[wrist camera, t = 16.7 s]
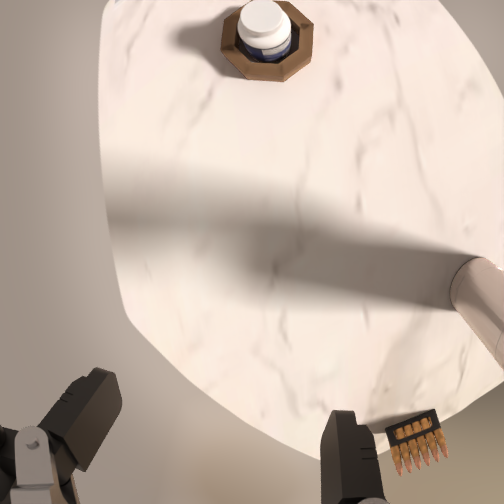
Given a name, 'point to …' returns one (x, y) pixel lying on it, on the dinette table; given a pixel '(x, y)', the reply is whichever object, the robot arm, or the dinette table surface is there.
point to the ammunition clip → (416, 440)
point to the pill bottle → (265, 31)
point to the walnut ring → (267, 69)
